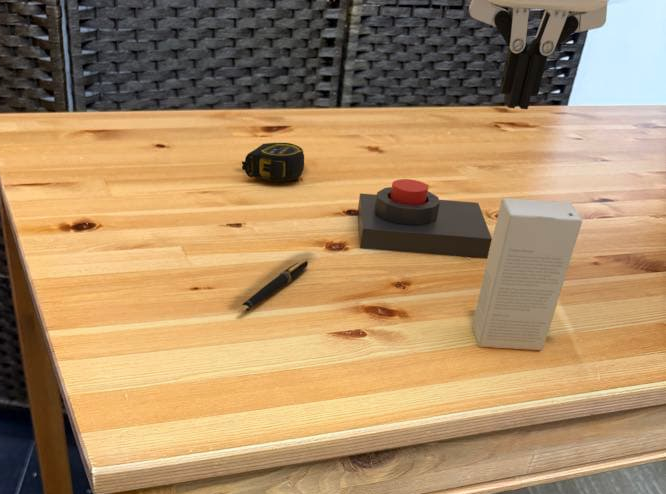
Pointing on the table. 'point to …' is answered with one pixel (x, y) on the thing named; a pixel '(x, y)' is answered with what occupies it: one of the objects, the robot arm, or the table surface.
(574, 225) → the cosmetic box
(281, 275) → the fountain pen
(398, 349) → the table surface
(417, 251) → the console
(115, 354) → the table surface
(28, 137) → the table surface
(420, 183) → the button
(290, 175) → the tape measure
